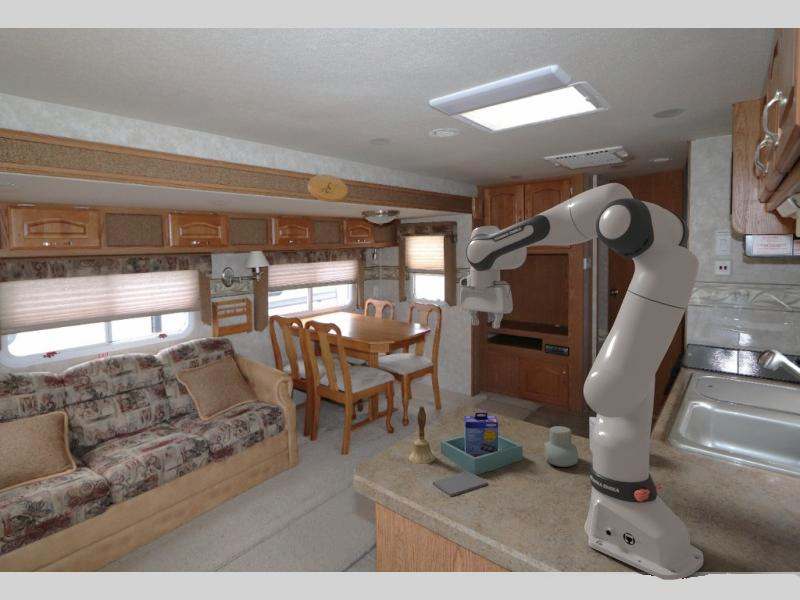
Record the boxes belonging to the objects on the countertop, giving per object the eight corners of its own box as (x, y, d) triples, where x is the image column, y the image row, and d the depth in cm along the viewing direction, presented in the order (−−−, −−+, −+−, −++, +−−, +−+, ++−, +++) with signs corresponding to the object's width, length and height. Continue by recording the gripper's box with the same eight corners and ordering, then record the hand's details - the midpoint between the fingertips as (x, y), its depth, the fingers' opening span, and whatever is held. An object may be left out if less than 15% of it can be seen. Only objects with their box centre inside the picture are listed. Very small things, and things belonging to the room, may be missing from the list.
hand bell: (414, 452, 143) (413, 401, 142) (439, 456, 139) (438, 404, 138) (403, 462, 135) (402, 409, 134) (430, 467, 132) (429, 412, 131)
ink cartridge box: (465, 462, 134) (464, 413, 134) (463, 454, 140) (463, 408, 139) (499, 462, 134) (498, 413, 133) (496, 454, 139) (495, 407, 139)
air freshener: (579, 472, 126) (579, 436, 126) (548, 470, 128) (548, 435, 127) (571, 456, 137) (571, 423, 136) (543, 454, 138) (542, 422, 138)
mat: (487, 484, 120) (487, 482, 120) (450, 496, 114) (450, 494, 114) (468, 473, 127) (468, 471, 127) (432, 484, 121) (432, 481, 121)
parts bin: (522, 460, 134) (522, 445, 134) (474, 475, 125) (474, 459, 125) (486, 443, 148) (486, 429, 148) (440, 455, 139) (440, 441, 139)
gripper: (517, 280, 130) (518, 329, 131) (471, 280, 148) (472, 322, 148) (500, 281, 127) (501, 330, 128) (456, 280, 144) (456, 324, 145)
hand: (485, 326), depth 138 cm, fingers open, 8 cm apart
